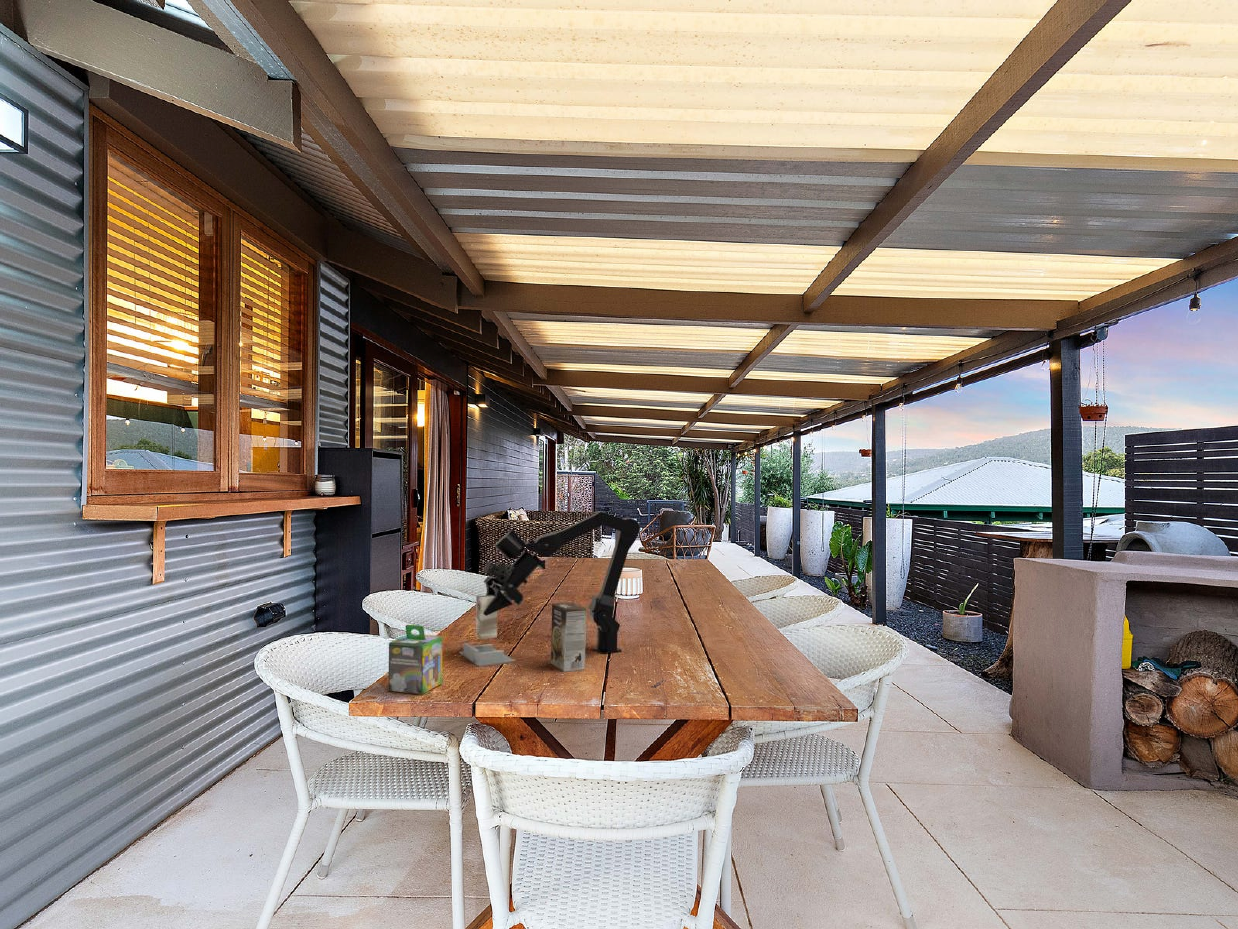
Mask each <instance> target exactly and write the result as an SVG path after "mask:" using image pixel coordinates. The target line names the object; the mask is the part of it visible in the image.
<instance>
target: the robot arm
mask: <svg viewBox="0 0 1238 929" xmlns="http://www.w3.org/2000/svg"><path fill="white" fill-rule="evenodd" d="M601 526H605V527H607V528H609V529H612V530H615V534H614V537H615V538H614V548H613V551H612V554H611V557H610V560H609V563H608V567H607V570H606V574H605V577H604V580H603V583H602V586H601V588H600V591H599V593H598V595H597V596H596V595H592V596H591V600H590V601H591V602H590V605H589V606H588V607H587V608H588V610H589V612H588V613H589V617H590V619H591V620H592V622H594V623H595V624H596V626H597V629H596V630H597V631H596V646H594V647H593V646H592V650H593V651H596V652H598V653H600V654H610V653H611V654H612V653H619V652H622V651H623V650H622V648H619V647H618V633H619V631H620V628H621V624H620V623H619V622H618V621H617V620H616V619H615V618H614V617H613V616H614V609H615V595H616V593H617V589H618V585H619V582H620V580H621V576H622V572H623V569H624V566H625V563H626V560H627V557H628V555H629V554H628V553H629V551H630V549H631V548H632V546H633V545H634V543H635V542H636V540H637V538H638V536H639V535H640V534H639V533H640V532H641V526H640V524H639V521H637V520H636V519H635V518H630V517H622V518H621V517H618V516H616V515H612V514H610V513H608V512H605V511H602V510H599V511H596V512H595V513H594V514H592V515H590V516H588V517H585V518H584V519H582V520H580V521H577V522H575V523H573V524H571V525H570V526H567V527H565V528H563V529H560V530H557V531H552V532H549V533H546V534H543V535H539V536H538V537H536V538H535V539H533V540H529V541H528V540H527V541H524V540H523V539H522V538H521V537H520V536H519V535H518V534H517V533H516V531H515V530H513V529H510V531H508V532H507V533H506V534H505V535H504V536H502V537H501V538H500V539H499V540H498V541H497V542H496V544H495V545H494V547H495V549H497V550H498V551H499V552H500V553H501V554H503V556H504V557H505V558H507V559H508V560H510V559H513V560H515V561H514V562H513V564H512V565H511V566H510V565H507V566H506V564H504V563H503V562H498V563H496V564H495V563H493V562H490V561H487V562H486V564H485V566H484V568H483V571H482V573H484V574H487V575H490V576H487V577H486V578H485V579H484V580H483V583H484V584H485V587H486V593H485V595H493V596H495V597H494V598H493V600H492V601H491V602H490V604H489V605H488V607H487V608H486V610H485V611H484V613H483V614H484V615H485V616H487V615H489V614H491V613H494V612H496V611H497V612H498V611H500V610H502V609H505V608H507V607H510V606H513V605H514V604H515V605H517V606H520V605H521V604H522V602H523V601H524V594H522V593H521V592H520V591H519V588H520V587H521V586H522V585H523V584H524V585H526V584H527V583H528V578H529V577H530V576H531V575H532V574H533V573H534V572H535V570H537V569H538V568H539V569H540V570H542V571H543V570H546V559H541V558H539V557H538V556H540V557H542V558H548V557H550V556H552V555H554V554H555V553H557V552H558V551H560V549H562V547H564V546H565V545H566V544H568V543H569V542H571V541H574V540H575V539H577V538H579V537H582V536H584V535H586V534H588V533H589V532H591V531H593V530H595V529H596V530H597V529H598V528H600V527H601ZM529 551H530V552H533V553H532V554H531V553H530V552H529ZM536 554H537V555H538V556H537V555H536ZM517 558H518V559H517Z"/></svg>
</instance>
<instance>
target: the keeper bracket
mask: <svg viewBox="0 0 1238 929" xmlns="http://www.w3.org/2000/svg"><path fill="white" fill-rule="evenodd" d="M462 650H463V651H459V654H460V655H461V656H463V657H464V658H465V659H467V660H469V661H470V662H471V663H473V664H474V665H476V666H477V667H479V668H482V667H489V666H496V665H498V666H499V665H505V664H511V663H516V660H515V659H513V658H512V657H509V656H508V655H507V654H505V650H503V649H501V650H498V649H496V648H494V643H493V644H492V643H487V644H480V645H479V644H478V645H472V644H470V643H469V642H464V643H463V649H462Z"/></svg>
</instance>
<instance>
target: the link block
mask: <svg viewBox="0 0 1238 929" xmlns="http://www.w3.org/2000/svg"><path fill="white" fill-rule="evenodd" d="M494 597H495V596H493V595H486V594H485V595H476V598H475V600H476V602H475V605H476V606H475V608H476V609H475V637H477V638H478V639H480V640H486V639H495V638H498V611H496V612H494V613H491V614H489V615H487V616H485V615H484V614H483V613H484V611H485V610H486V608H487V607H488V605H489V604H490V602H491V601H492V600H493V598H494Z"/></svg>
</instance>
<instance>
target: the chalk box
mask: <svg viewBox="0 0 1238 929" xmlns="http://www.w3.org/2000/svg"><path fill="white" fill-rule="evenodd" d="M424 628H425V627H424V626H423V625H420V624H419V625H417V624H415V625H414V624H406V625H405V634H406V635H405V636H401V637H399V638H396V639H394V640H392V641H389V643H388V692H394V693H395V692H396V693H404V694H410V695H418V696H422V695H424V694H425V693H428V692H429V691H431V690H433V689H434V688H437V687H438V686H440V685H442V684H443V636H442V635H434V634H433V635H432V634H425V629H424ZM413 630H414V631H415V630H416V631H417V632H418V634H413V633H412V631H413Z"/></svg>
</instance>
